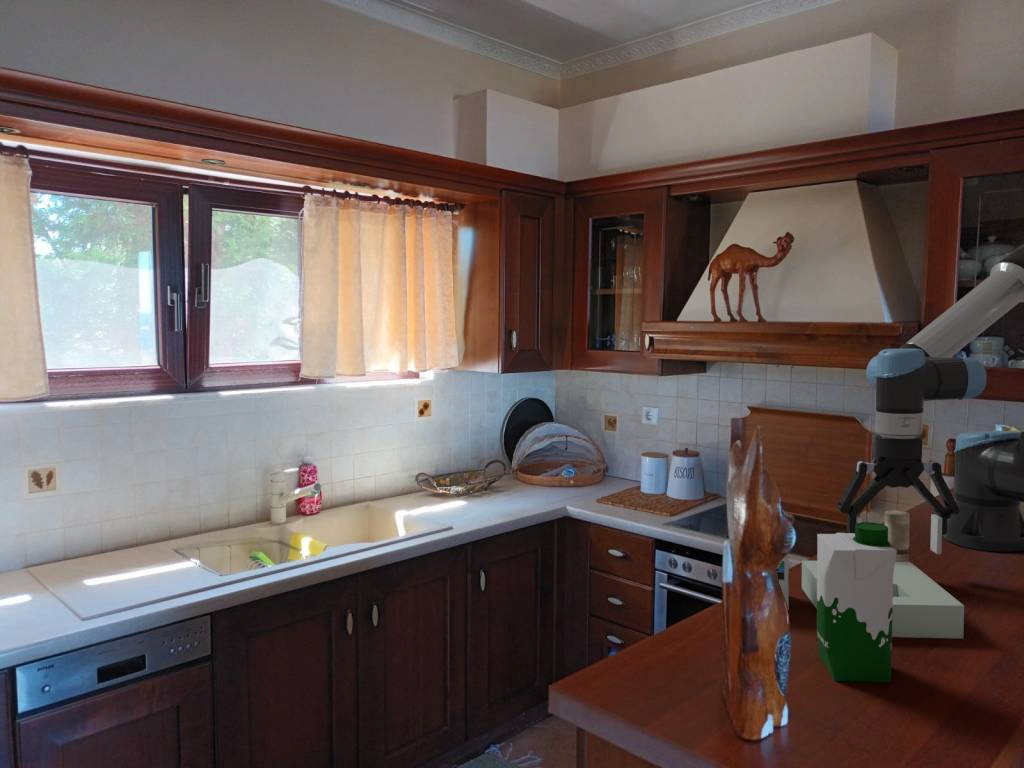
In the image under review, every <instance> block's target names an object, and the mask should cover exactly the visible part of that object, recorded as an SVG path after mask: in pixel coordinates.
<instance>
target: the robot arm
mask: <svg viewBox="0 0 1024 768" xmlns="http://www.w3.org/2000/svg"><path fill="white" fill-rule="evenodd" d="M1020 303H1024V244H1022V245H1021V246H1019V247H1017V248H1015V249H1014V250H1012V251H1011V252H1010V253H1008V255H1006V256H1004V257H1003V258H1001V260H1000V261H998V262H997V263H996V264H995V265H993V266H992V267H991V270H990V273H989V276H987V278H985V279H984V280H983V281H982V282H980V283H979V284H978V285H976V286H975V287H974V288H972V290H970V291H969V292H968V293H967V294H965V295H964V296H963V297H962V298H960V299H959V300H958V301H957V302H955V303H954V304H953V305H952V306H951V307H949V308H948V309H947V310H945V311H944V312H943V313H941V314H940V315H939V316H938V317H937V318H935V319H934V320H933V321H932V322H931V323H929V324H928V325H927V326H925V327H924V328H923V329H922V330H921V331H919V332H918V333H917V334H915V335H914V336H913V337H912V338H911V339H909V340H908V341H907V342H905V343H904V344H903V345H902V346H900V347H899V348H885V349H882V350H880V351H879V352H878V354H877V355H875V356H873V357H872V358H871V360H869V362H868V364H867V366H866V370H865V373H866V378H867V381H868V383H869V384H870V386H871V387H872V388H874V389H875V425H874V431H875V433H876V434H877V435H876V436H874V437H875V438H874V440H875V441H874V461H873V462H872V463H871V462H864V461H862V460H857V461H856V463H855V468H854V473H853V475H852V476H851V479H850V480H849V482H848V484H847V486H846V488H845V490H844V491H843V493H842V494H841V496H840V499H839V500H838V502H837V504H836V507H835V508H836V509H837V510H838V512H839V513H842V514H845V515H846V529H847V533H855V525H856V524H857V523H862V522H863V517H862V516H861V515H859V514H860V513H862V510H864V508H866V507H867V505H869V503H870V502H872V500H873V499H874V498H875V497H876V496H877V495H878V494H879V493H880V492H881V491H882V490H885V488H886V487H889V488H898V487H901V488H904V489H905V488H907V489H908V488H909V487H911V486H912V487H913V489H915V490H916V491H917V492H918V494H919V495H920V496H921V497H922V498H923V499H924V500H925V502H927V504H928V505H929V506H930V507H931V508H932V510H933V511H934V512H935V513H936V514H935V513H934V514H931V515H930V546H929V548H930V551H931V552H933V553H935V554H936V555H942V545H943V544H942V541H943V540H942V539H943V538H944V539H945V540H946V541H947V542H950V543H951V544H954V545H957V546H961V547H965V548H968V549H973V550H980V551H988V552H1004V553H1005V552H1006V553H1007V552H1010V553H1011V552H1020V551H1024V515H1023V511H1022V509H1021V503H1024V428H1022V429H1021V431H1018V430H987V431H986V430H985V431H983V430H982V431H980V430H979V431H967V432H962V433H960V434H958V436H957V437H956V440H955V449H954V450H953V452H954V462H953V463H954V469H953V470H954V476H953V477H954V481H953V483H954V487H953V488H954V489H953V490H954V492H953V494H954V495H953V494H952V492H951V490H950V488H949V486H948V484H947V481H946V480H945V478H944V476H943V473H942V465H941V463H939V462H937V461H934V460H929V461H928V462H922V461H923V460H922V458H923V438H922V437H921V436H920V435H922V434H923V424H924V423H923V420H924V419H923V418H924V417H923V416H924V403H925V402H928V401H945V400H946V401H947V400H949V401H950V400H951V401H953V400H958V401H962V400H966V399H974V398H976V397H978V396H979V395H981V394H982V393H983V392H984V390H985V388H986V385H987V379H988V378H987V376H988V375H987V371H986V369H985V367H984V364H982V363H981V362H980V360H978V359H976V358H973V357H963V356H961V357H960V356H956V357H953V356H954V355H956V354H957V353H958V352H960V351H961V350H962V349H963V348H965V347H966V346H967V345H969V343H970V342H972V341H974V339H976V338H977V337H978V336H979V335H980V334H982V333H983V332H984V331H986V330H987V329H988V328H990V326H992V325H993V324H995V323H996V322H997V321H998V320H1000V318H1002V317H1003V316H1005V314H1007V313H1008V312H1009V311H1010V310H1012V309H1013V308H1014V307H1016V306H1017V305H1018V304H1020ZM924 470H925V473H926V474H928V475H929V477H930V478H931V481H932V483H933V484H934V486H935V488H936V490H937V493H938V494H939V496H940V498H941V500H942V502H943V505H944V506H943V505H942V504H941V502H940V501H939V500H938V499H937V498H936V497H935V496H934V494H933V493H932V492H931V491H930V490H929V489H928V488H927V487H926V485H925V484H924V482H923V481H922V480H921V479H920V478H919V477H921V475H922V473H923V472H924ZM871 471H873V472H874V473H875V474H876V475H875V476H874V477H873V478H872V479H871V480H870V483H869V484H868V485H867V486H866V487H865V488H864V489H863V491H861V493H860V494H858V492H859V490H860V489H861V487H862V485H863V483H864V481H865V479H866V477H867V476H868V475H869V474H870V472H871ZM857 494H858V496H857ZM854 499H855V500H854Z"/></svg>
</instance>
